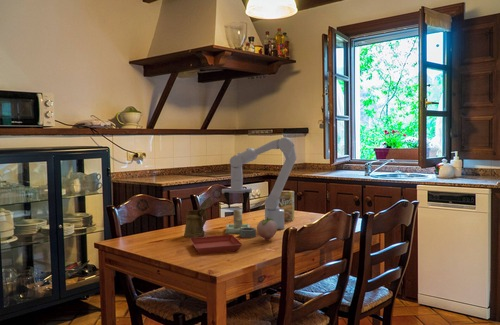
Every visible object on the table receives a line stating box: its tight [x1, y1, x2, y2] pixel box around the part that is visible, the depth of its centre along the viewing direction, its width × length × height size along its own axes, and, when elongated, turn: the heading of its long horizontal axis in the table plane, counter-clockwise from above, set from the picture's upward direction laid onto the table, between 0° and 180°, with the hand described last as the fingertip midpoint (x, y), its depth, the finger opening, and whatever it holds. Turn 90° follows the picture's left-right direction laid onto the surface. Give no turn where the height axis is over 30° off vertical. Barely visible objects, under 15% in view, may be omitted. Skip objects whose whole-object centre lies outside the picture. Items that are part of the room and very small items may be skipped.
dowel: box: [233, 208, 243, 229], centre depth 213 cm, size 4×4×9 cm
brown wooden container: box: [183, 196, 212, 239], centre depth 202 cm, size 9×14×18 cm, turn 61°
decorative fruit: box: [256, 217, 278, 241], centre depth 193 cm, size 9×8×10 cm
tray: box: [225, 223, 251, 235], centre depth 213 cm, size 11×12×2 cm
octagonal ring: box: [239, 226, 257, 239], centre depth 202 cm, size 7×7×3 cm
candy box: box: [278, 190, 295, 222], centre depth 240 cm, size 9×4×15 cm, turn 70°
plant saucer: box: [189, 234, 243, 255], centre depth 181 cm, size 18×18×3 cm
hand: (237, 207), depth 222 cm, fingers open, 7 cm apart
